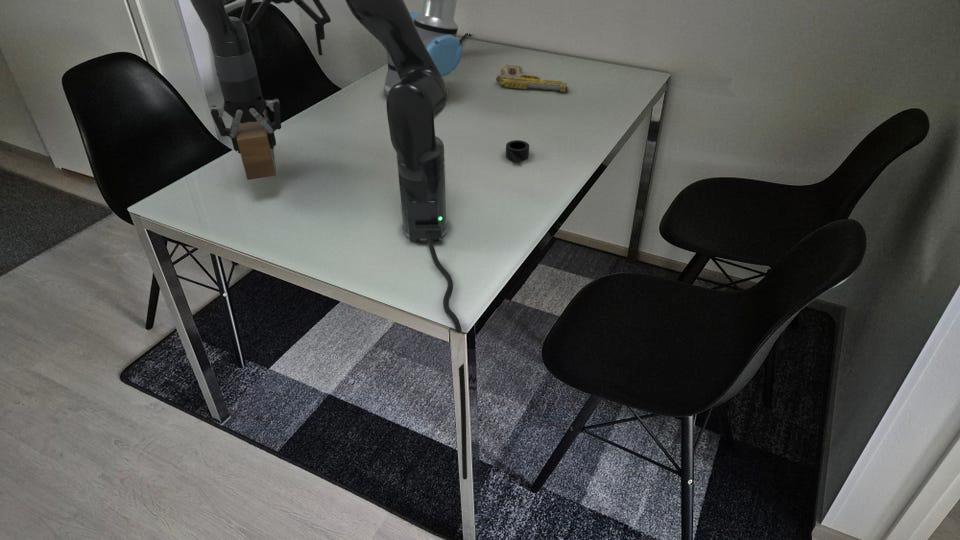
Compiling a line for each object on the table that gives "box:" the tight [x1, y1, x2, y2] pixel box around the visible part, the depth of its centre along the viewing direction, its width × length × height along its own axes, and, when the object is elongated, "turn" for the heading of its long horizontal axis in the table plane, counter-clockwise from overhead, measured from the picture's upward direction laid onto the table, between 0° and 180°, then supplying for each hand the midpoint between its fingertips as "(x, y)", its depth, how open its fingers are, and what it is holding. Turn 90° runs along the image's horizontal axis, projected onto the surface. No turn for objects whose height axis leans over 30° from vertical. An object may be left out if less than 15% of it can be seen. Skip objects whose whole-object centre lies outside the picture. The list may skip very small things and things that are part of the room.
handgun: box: [495, 64, 569, 94], centre depth 196 cm, size 2×23×15 cm
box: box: [237, 107, 277, 181], centre depth 141 cm, size 21×6×10 cm, turn 17°
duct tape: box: [505, 139, 530, 163], centre depth 157 cm, size 8×10×3 cm
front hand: (256, 149), depth 136 cm, fingers closed on box, 6 cm apart
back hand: (291, 55), depth 149 cm, fingers open, 13 cm apart
